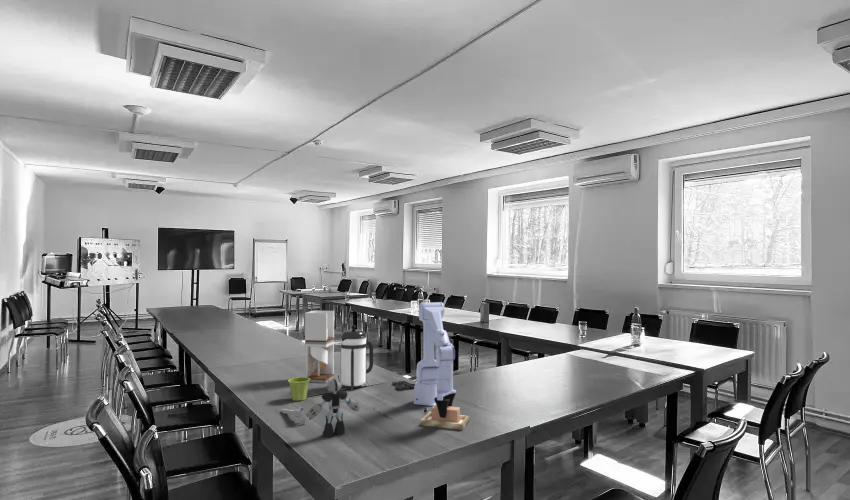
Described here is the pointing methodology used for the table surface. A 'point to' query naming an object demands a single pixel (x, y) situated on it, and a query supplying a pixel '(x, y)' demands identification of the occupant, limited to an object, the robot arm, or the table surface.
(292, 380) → the plant pot
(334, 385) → the robot
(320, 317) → the white and brown tower
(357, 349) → the coffee press
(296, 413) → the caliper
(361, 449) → the table surface
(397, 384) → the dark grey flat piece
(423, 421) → the wooden tray
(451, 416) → the salmon orange block
